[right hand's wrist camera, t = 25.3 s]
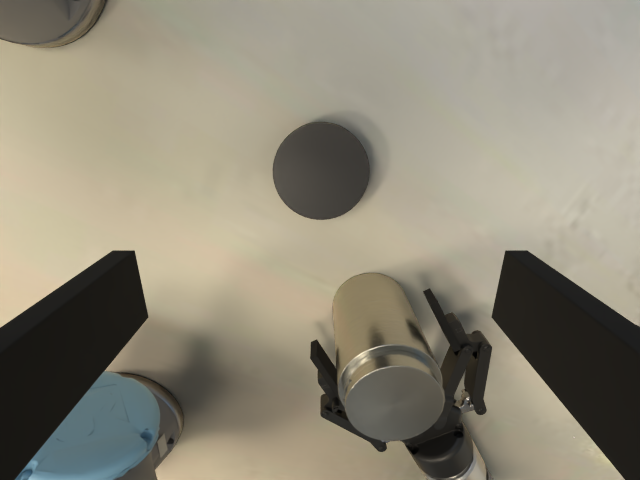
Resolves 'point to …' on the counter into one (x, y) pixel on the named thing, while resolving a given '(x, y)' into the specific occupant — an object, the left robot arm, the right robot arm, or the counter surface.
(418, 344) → the jar
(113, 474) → the left robot arm
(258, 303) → the counter surface
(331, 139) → the lid
